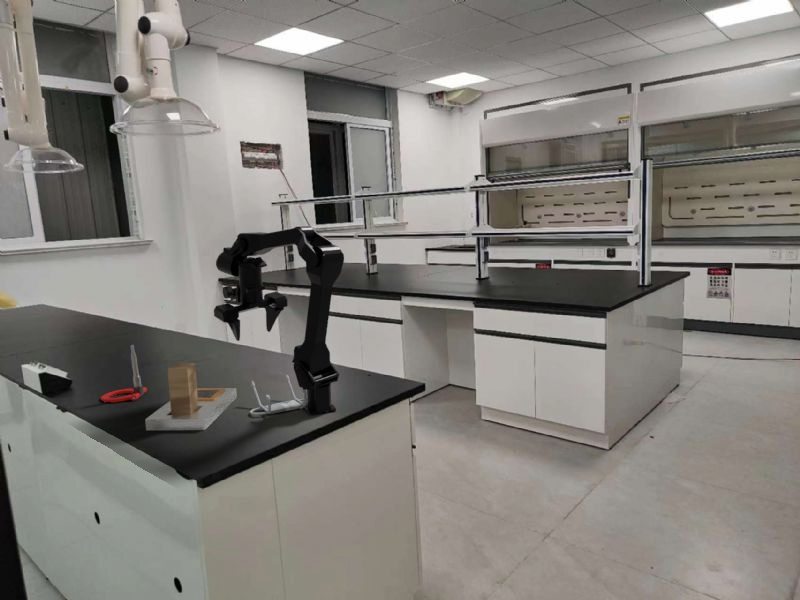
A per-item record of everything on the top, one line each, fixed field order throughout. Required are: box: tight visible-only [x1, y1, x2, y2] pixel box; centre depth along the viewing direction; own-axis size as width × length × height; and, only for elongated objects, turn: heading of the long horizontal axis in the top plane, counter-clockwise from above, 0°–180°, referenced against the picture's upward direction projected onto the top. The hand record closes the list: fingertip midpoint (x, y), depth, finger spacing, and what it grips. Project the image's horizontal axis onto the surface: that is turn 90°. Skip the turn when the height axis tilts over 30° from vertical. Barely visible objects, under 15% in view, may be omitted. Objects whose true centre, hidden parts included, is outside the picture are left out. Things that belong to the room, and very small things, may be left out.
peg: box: [167, 362, 198, 415], centre depth 125 cm, size 4×4×13 cm
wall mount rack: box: [249, 374, 308, 416], centre depth 134 cm, size 16×14×6 cm
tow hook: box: [100, 344, 148, 403], centre depth 143 cm, size 9×14×10 cm
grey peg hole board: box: [144, 387, 238, 431], centre depth 131 cm, size 22×13×3 cm, turn 179°
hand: (253, 335), depth 147 cm, fingers open, 9 cm apart
